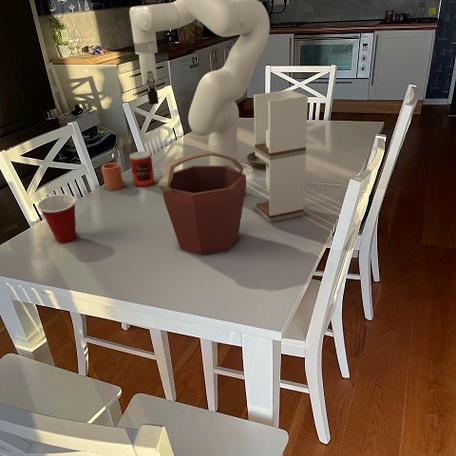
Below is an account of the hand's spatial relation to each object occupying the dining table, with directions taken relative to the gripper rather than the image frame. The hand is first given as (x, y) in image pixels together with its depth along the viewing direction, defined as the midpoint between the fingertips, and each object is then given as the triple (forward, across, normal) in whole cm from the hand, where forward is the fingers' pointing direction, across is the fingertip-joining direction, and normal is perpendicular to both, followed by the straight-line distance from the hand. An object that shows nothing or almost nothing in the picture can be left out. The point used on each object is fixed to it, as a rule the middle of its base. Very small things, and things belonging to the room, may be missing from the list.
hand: (153, 101), depth 170 cm
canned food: (+28, +5, -8) cm, 29 cm away
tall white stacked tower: (+29, +46, +34) cm, 64 cm away
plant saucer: (+28, -2, +42) cm, 51 cm away
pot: (+28, +5, -19) cm, 34 cm away
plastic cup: (+28, +46, -32) cm, 63 cm away
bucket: (+29, +58, +8) cm, 66 cm away
